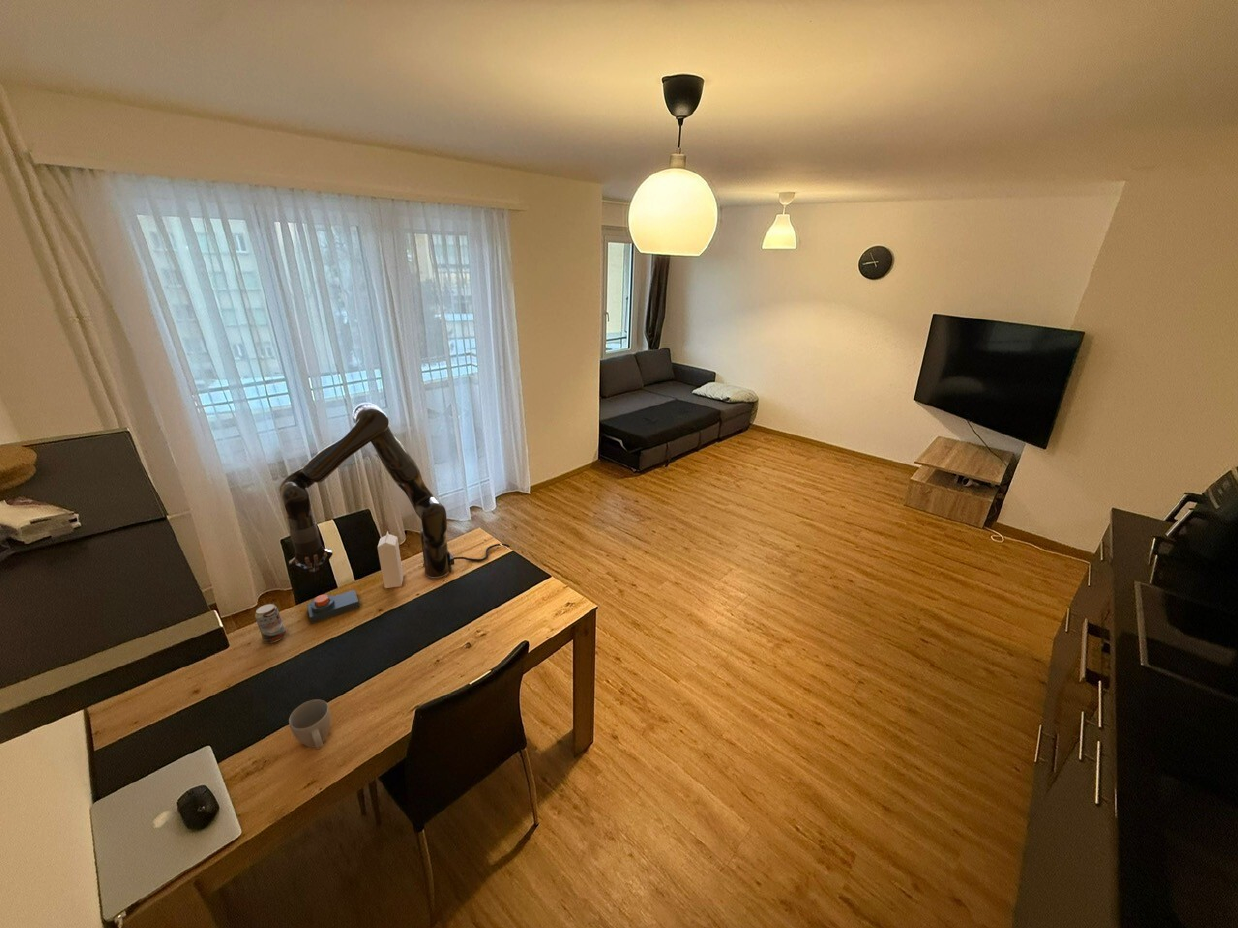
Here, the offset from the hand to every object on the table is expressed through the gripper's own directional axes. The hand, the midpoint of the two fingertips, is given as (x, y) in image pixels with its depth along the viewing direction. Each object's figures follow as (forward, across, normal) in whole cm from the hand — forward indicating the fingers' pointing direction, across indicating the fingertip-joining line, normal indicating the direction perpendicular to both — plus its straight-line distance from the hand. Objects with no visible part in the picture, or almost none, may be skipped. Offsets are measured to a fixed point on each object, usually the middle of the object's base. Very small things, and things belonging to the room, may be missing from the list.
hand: (316, 578), depth 163 cm
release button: (+11, 0, 0) cm, 11 cm away
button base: (+15, +3, 0) cm, 15 cm away
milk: (+15, +24, +4) cm, 29 cm away
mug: (+15, -9, -52) cm, 55 cm away
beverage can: (+15, -15, -4) cm, 22 cm away
